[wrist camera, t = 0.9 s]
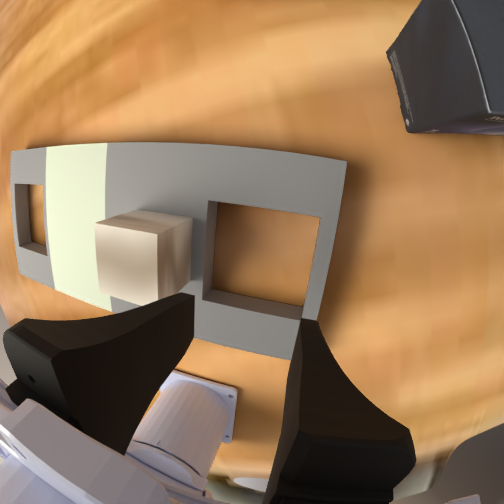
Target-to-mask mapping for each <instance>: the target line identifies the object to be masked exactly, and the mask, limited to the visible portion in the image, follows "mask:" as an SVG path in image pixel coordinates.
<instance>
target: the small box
mask: <svg viewBox="0 0 504 504" xmlns="http://www.w3.org/2000/svg"><path fill="white" fill-rule="evenodd" d="M386 54H387V58H388V60H389V62H390V64H391V70H392V71H393V75H394V79H395V83H396V85H397V90H398V95H399V98H400V103H401V105H400V108H401V112H402V115H403V118H404V122H405V126H406V130H407V132H408V133H454V134H483V135H504V0H421V2H420V3H419V5H418V7H417V8H416V9H415V11H414V12H413V14H412V15H411V17H410V19H409V20H408V22H407V23H406V25H405V26H404V28H403V29H402V31H401V32H400V34H399V36H398V37H397V38H396V40H395V41H394V42H393V44H392V45H391V46H390V47H389V49H388V50H387V51H386Z"/></svg>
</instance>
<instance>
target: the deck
mask: <svg viewBox="0 0 504 504" xmlns="http://www.w3.org/2000/svg"><path fill="white" fill-rule="evenodd" d="M346 166H347V161H342V160H336V159H331V158H325V157H319V156H312V155H306V154H299V153H292V152H284V151H276V150H268V149H259V148H249V147H238V146H226V145H212V144H194V143H164V142H121V143H93V144H76V145H63V146H52V147H42V148H34V149H26V150H18V151H11V208H12V221H13V231H14V240H15V248H16V255H17V261H18V267H19V273H20V274H22V275H24V276H26V277H28V278H30V279H33V280H35V281H37V282H39V283H41V284H44V285H46V286H48V287H51V288H53V289H55V290H58V291H60V292H62V293H65V294H67V295H70V296H72V297H74V298H77V299H79V300H82V301H85V302H87V303H90V304H92V305H95V306H98V307H100V308H103V309H106V310H108V311H111V312H114V313H121V312H124V311H128V310H131V309H134V308H137V307H140V306H141V305H137V304H134V303H131V302H128V301H125V300H122V299H118V298H115V297H112V296H109V295H106V294H103V293H100V290H99V282H98V272H97V260H96V246H95V226H94V223H96V222H99V221H102V220H105V219H108V218H111V217H114V216H117V215H120V214H123V213H127V212H130V211H133V210H143V211H151V212H158V213H165V214H172V215H179V216H186V217H192V218H193V225H192V244H191V268H190V282H189V283H188V284H187V285H185V286H184V287H183V288H182V289H181V290H180V291H179V292H178V293H181V292H183V293H187V294H191V295H195V318H194V338H196V339H200V340H204V341H208V342H211V343H215V344H219V345H223V346H227V347H231V348H235V349H240V350H244V351H248V352H253V353H257V354H262V355H267V356H271V357H276V358H281V359H286V360H291V358H292V354H293V350H294V346H295V341H296V337H297V333H298V328H299V324H300V320H301V318H305V319H311V320H316V321H317V317H318V313H319V309H320V304H321V300H322V296H323V292H324V287H325V283H326V278H327V274H328V269H329V264H330V259H331V254H332V249H333V244H334V239H335V234H336V228H337V223H338V217H339V212H340V206H341V200H342V193H343V187H344V180H345V173H346ZM28 184H37V185H43V209H44V225H45V237H46V246H45V245H41V244H38V243H35V242H32V241H31V232H30V220H29V204H28ZM218 202H225V203H232V204H239V205H246V206H253V207H260V208H267V209H273V210H279V211H286V212H292V213H298V214H304V215H310V216H316V217H320V222H319V228H318V234H317V240H316V245H315V251H314V256H313V261H312V267H311V272H310V277H309V282H308V287H307V292H306V297H305V302H304V306H303V307H300V306H295V305H290V304H284V303H279V302H274V301H269V300H264V299H259V298H254V297H249V296H244V295H239V294H234V293H230V292H225V291H220V290H216V289H212V276H213V261H214V247H215V233H216V221H217V209H218Z"/></svg>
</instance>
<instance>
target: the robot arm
mask: <svg viewBox="0 0 504 504" xmlns="http://www.w3.org/2000/svg"><path fill="white" fill-rule="evenodd" d="M194 318H195V295H191V294H187V293H183V292H181V293H177V294H174V295H171V296H168V297H165V298H162V299H160V300H157V301H154V302H152V303H149V304H146V305H143V306H140V307H137V308H134V309H131V310H128V311H124V312H121V313H117V314H113V315H108V316H103V317H98V318H90V319H81V320H67V321H51V320H37V319H28V318H25V319H23V320H21V321H20V322H18V323H17V324H15V325H14V326H12V327H11V328H9V329H8V330H6V331H5V332H4V335H3V343H4V347H5V350H6V353H7V356H8V358H9V360H10V362H11V365H12V368H13V370H14V372H15V375H16V377H17V379H16V380H15V381H14V382H13V383H11V384H10V385H9V386H8V385H7V384H6V383H5V382H4V381H3V380H1V379H0V456H1V457H2V458H3V459H4V460H5V461H4V462H3V463H2V464H1V465H0V504H228V503H224V502H220V501H217V500H214V499H213V497H212V493H211V492H210V491H207V490H205V487H206V485H207V483H208V480H207V479H206V477H207V475H208V473H209V470H210V468H211V466H212V463H213V461H214V459H215V456H216V454H217V452H218V449H219V447H220V444H221V442H224V443H231V441H232V434H233V426H234V418H235V410H236V402H237V394H238V390H237V389H236V388H234V387H231V386H227V385H223V384H220V383H216V382H212V381H209V380H205V379H202V378H198V377H195V376H192V375H189V374H185V373H182V372H179V371H176V370H174V368H175V367H176V366H177V364H178V363H179V362H180V360H181V359H182V357H183V356H184V355H185V353H186V351H187V349H188V347H189V346H190V344H191V342H192V340H193V338H194ZM159 388H160V390H161V394H160V396H159V397H158V399H157V400H156V401H155V403H154V404H153V406H152V407H151V409H150V410H149V411H148V413H147V414H146V416H145V417H144V418H143V416H144V414H145V412H146V410H147V408H148V406H149V405H150V403H151V401H152V399H153V398H154V396H155V394H156V393H157V391H158V390H159ZM232 395H233V396H232ZM142 418H143V420H142V421H141V419H142ZM140 421H141V423H140ZM139 423H140V424H139ZM138 425H139V426H138ZM415 463H416V455H415V449H414V444H413V440H412V437H411V434H410V430H409V429H408V428H407V427H405V426H404V425H402V424H400V423H399V422H397V421H396V420H394V419H393V418H391V417H389V416H388V415H387V414H385V413H384V412H383V411H381V410H380V409H379V408H378V407H376V406H375V405H374V404H373V403H372V402H371V401H369V400H368V399H367V398H366V397H365V396H364V395H363V394H362V393H361V392H360V391H359V390H358V389H357V388H356V387H355V386H354V384H353V383H352V382H351V381H350V380H349V378H348V377H347V376H346V375H345V373H344V372H343V371H342V369H341V368H340V366H339V365H338V363H337V361H336V360H335V358H334V356H333V355H332V353H331V351H330V349H329V347H328V345H327V343H326V341H325V339H324V337H323V334H322V332H321V330H320V327H319V324H318V322H317V321H316V320H311V319H305V318H301V320H300V324H299V328H298V333H297V337H296V341H295V346H294V350H293V354H292V358H291V363H290V368H289V372H288V377H287V385H286V395H285V405H284V415H283V424H282V430H281V435H280V439H279V443H278V447H277V451H276V455H275V459H274V463H273V467H272V471H271V474H270V478H269V482H268V485H267V489H266V492H265V495H264V499H263V502H262V504H389V502H391V501H393V488H394V487H395V486H397V485H398V484H399V483H400V482H401V481H402V480H403V479H404V478H405V477H406V476H407V475H408V474H409V473H410V471H411V470H412V469H413V467H414V466H415ZM444 504H481V503H480V499H479V495H477V494H476V495H472V496H468V497H464V498H460V499H455V500H452V501H449V502H447V503H444Z"/></svg>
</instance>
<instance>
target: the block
mask: <svg viewBox="0 0 504 504" xmlns="http://www.w3.org/2000/svg"><path fill="white" fill-rule="evenodd" d="M192 225H193V218H192V217H186V216H179V215H172V214H165V213H158V212H151V211H143V210H133V211H130V212H127V213H123V214H120V215H117V216H114V217H111V218H108V219H105V220H102V221H99V222H96V223H94V226H95V246H96V260H97V272H98V282H99V290H100V293H103V294H106V295H109V296H112V297H115V298H118V299H122V300H125V301H128V302H131V303H134V304H137V305H141V306H143V305H146V304H149V303H152V302H154V301H157V300H160V299H162V298H165V297H168V296H171V295H174V294H177V293H178V292H179V291H180V290H181V289H182V288H183V287H184V286H185V285H187V284H188V283H189V282H190V268H191V244H192Z"/></svg>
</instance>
